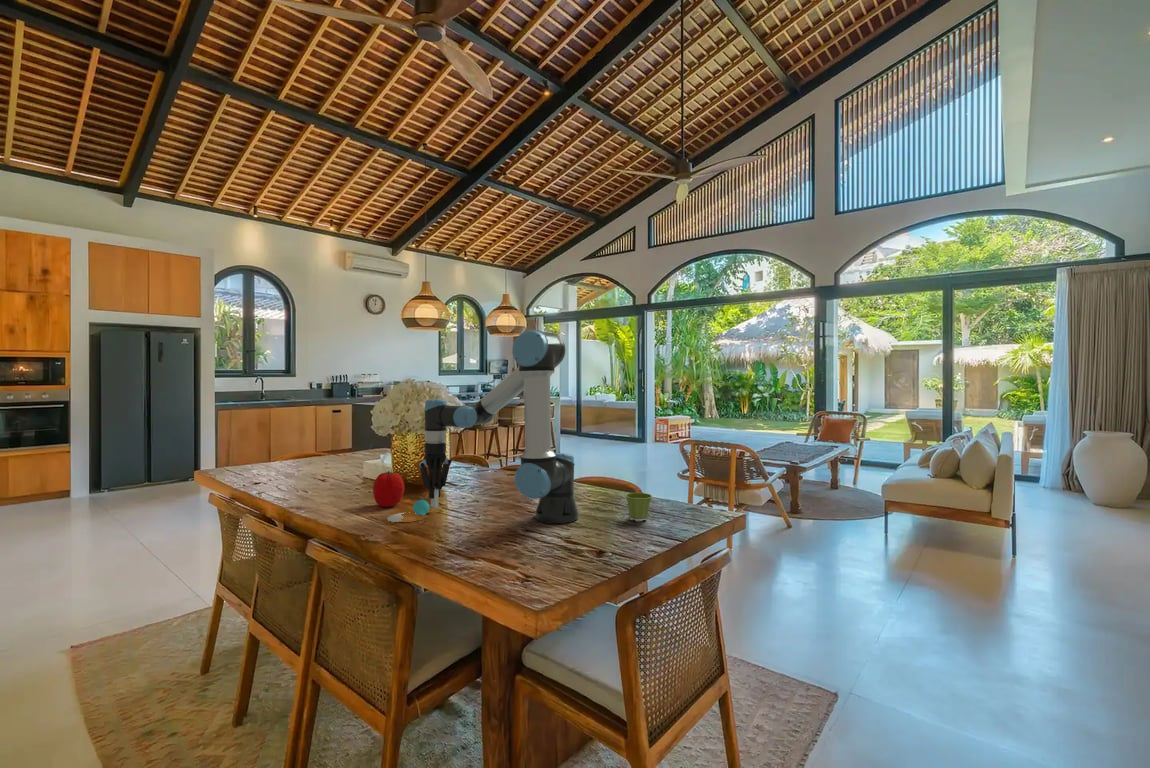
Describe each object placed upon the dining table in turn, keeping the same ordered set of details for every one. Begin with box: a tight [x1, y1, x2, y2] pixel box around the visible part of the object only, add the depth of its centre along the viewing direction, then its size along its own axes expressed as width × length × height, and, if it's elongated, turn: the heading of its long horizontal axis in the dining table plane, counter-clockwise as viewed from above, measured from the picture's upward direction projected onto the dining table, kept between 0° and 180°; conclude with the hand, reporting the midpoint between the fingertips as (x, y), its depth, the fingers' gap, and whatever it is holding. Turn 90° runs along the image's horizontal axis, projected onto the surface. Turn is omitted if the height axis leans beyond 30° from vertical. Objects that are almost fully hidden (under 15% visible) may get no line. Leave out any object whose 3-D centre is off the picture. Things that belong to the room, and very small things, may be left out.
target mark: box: [386, 511, 411, 523], centre depth 184 cm, size 13×13×1 cm
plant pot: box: [624, 492, 653, 519], centre depth 186 cm, size 9×9×9 cm
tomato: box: [372, 470, 406, 508], centre depth 200 cm, size 12×12×13 cm
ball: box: [412, 499, 430, 516], centre depth 188 cm, size 6×6×6 cm
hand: (434, 506), depth 192 cm, fingers closed
